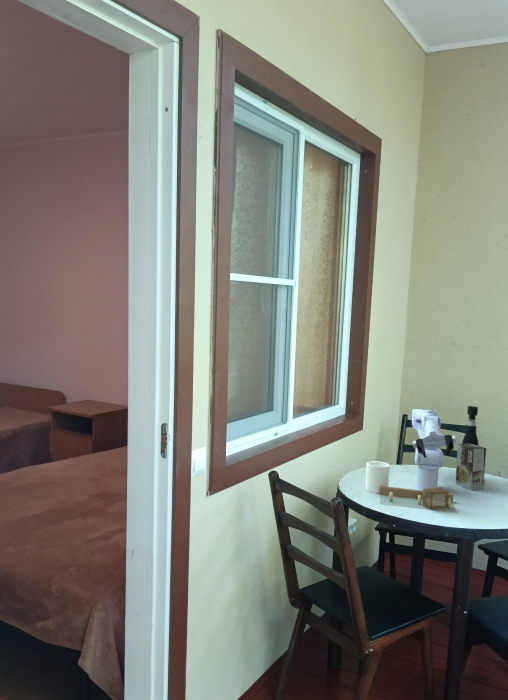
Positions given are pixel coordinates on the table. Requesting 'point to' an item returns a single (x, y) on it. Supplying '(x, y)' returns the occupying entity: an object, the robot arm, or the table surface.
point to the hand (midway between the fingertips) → (436, 453)
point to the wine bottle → (471, 427)
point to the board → (409, 498)
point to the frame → (435, 498)
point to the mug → (376, 476)
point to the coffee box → (470, 466)
